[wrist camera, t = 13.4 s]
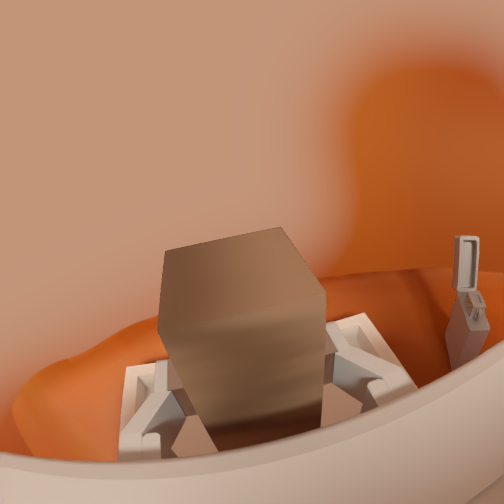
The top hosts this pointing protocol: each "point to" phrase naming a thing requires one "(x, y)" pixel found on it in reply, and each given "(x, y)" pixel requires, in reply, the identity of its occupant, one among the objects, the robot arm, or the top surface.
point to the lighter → (466, 305)
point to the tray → (334, 399)
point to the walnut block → (246, 336)
